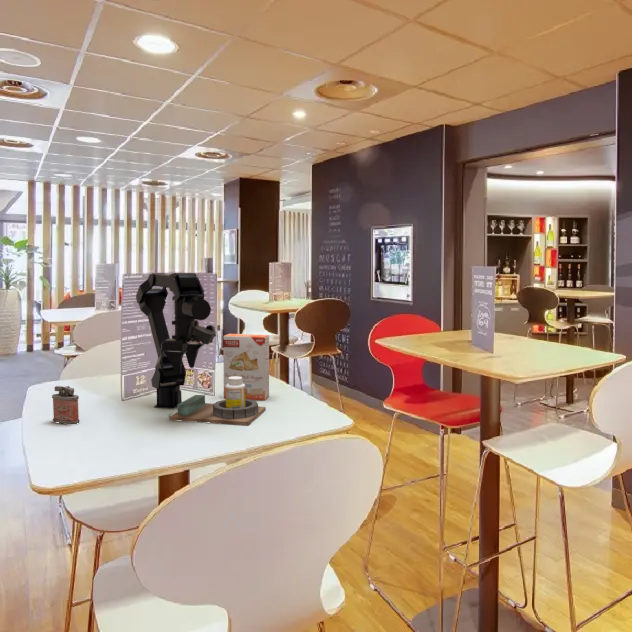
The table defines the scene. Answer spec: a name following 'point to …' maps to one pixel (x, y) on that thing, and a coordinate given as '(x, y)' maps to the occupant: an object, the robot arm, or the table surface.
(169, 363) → the robot arm
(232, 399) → the supplement bottle
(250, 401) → the ring
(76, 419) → the lighter
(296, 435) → the table surface
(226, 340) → the cracker box
